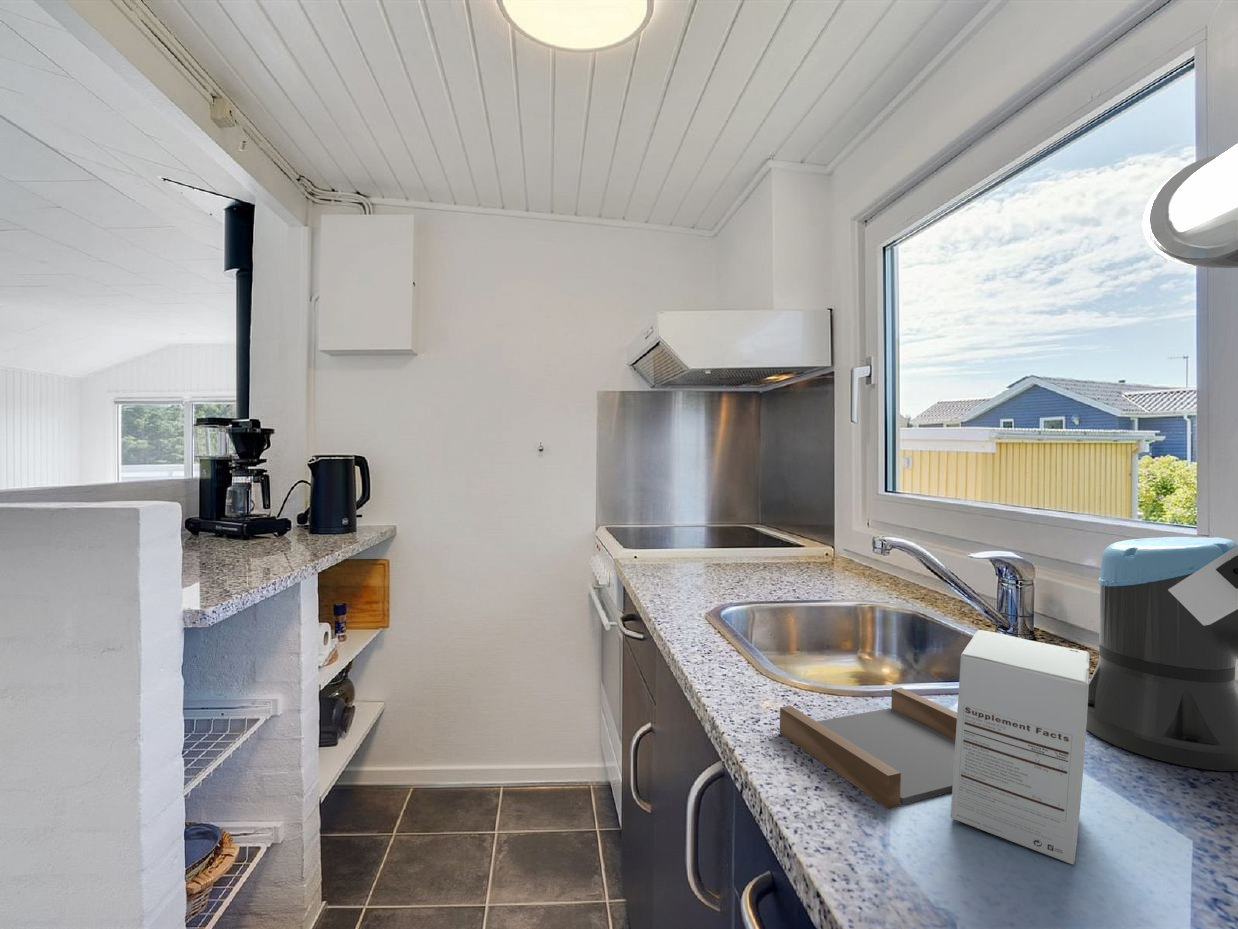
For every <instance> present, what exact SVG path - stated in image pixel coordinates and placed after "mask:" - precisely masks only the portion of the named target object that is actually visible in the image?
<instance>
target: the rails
mask: <svg viewBox="0 0 1238 929" xmlns="http://www.w3.org/2000/svg"><path fill="white" fill-rule="evenodd" d="M890 704H891V706H890V707H891V709H893V710H895V711H897V712H899V713H901V714H903V715H905V716H907V717H909V718H911V719H913V720H915V721H917V722H919V723H921V724H923V725H925V726H927V727H929V728H931V729H933V730H935V731H937V732H939V733H941V734H943V735H945V736H947V737H949V738H951V739H953V740H956V725H957V711H954V710H952V709H950V708H949V707H947V706H946V707H945V706H943V705H941V704H939V703H937V702H935V701H932V700H930V699H927V698H925V697H923V696H920V695H918V694H916V693H914V692H912V691H909V690H907V689H906V688H903V687H896V688H891V703H890ZM817 721H818V720H815V719H813V718H812V717H810V716H808V715H807V714H806V713H804V712H802V711H800V710H798V709H797V708H795V707H793V706H792V705H786V706H781V707H779V734H780V735H782V736H783V737H784V738H786V739H788V740H789V741H790V742H792V743H793V744H794V745H795V746H797V747H799V748H800V749H802V750H803V751H805V752H806V753H808V754H809V755H810V756H811V757H813V758H815V759H816V760H818V762H820V763H821V764H823V765H824V766H826V767H828V768H829V769H830V770H832V771H833V772H834V773H836V774H837V775H839V776H840V777H842V778H843V779H845V780H846V781H848V782H849V783H850V784H852V785H853V786H855V787H856V788H857V789H859V790H860V791H862V792H863V793H864V794H866V795H867V796H869V797H870V798H872V799H873V800H875V801H876V802H877V803H879V804H880V805H882V806H884V808H886V809H892V808H895V807H899V806H901V804H900V790H901V773H900V772H899V771H897V770H895V769H894V768H892V767H890V766H889V765H887V764H885V763H884V762H882V761H881V760H879V759H877V758H876V757H874V756H872V755H871V754H869V753H867V752H866V751H864V750H862V749H861V748H859V747H858V746H856V745H854V744H853V743H851V742H849V741H848V740H846V739H844V738H843V737H841V736H840V735H838V734H836V733H835V732H833V731H831V730H830V729H828V728H826V727H825V726H823V725H822V724H820V723H818V722H817Z"/></svg>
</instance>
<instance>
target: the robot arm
mask: <svg viewBox="0 0 1238 929" xmlns="http://www.w3.org/2000/svg"><path fill="white" fill-rule="evenodd" d="M1142 230H1143V234H1144V236H1145V239H1146V241H1147V243H1148V244H1149V246H1150V247H1151V248H1152V249H1153V250H1154V251H1156V253H1158V254H1159V255H1161V256H1162V257H1164V258H1165V259H1167V260H1171V261H1174V262H1176V263H1179V264H1183V265H1189V266H1194V267H1201V268H1207V269H1208V268H1210V269H1235V268H1238V143H1237V144H1235V145H1234V146H1231V148H1229V149H1228V150H1226V151H1225V152H1222V153H1221V154H1216V155H1211V156H1207V157H1204V158H1202V159H1199V160H1197V161H1194V162H1192V163H1190V164H1189V165H1186V166H1185V167H1183V168H1181V169H1180V170H1179V171H1177V172H1176V173H1174V174H1173V175H1172V176H1170V177H1169V178H1167V180H1165V181H1164V182H1163V183H1162V184H1161V185H1160V186H1159V187H1158V189H1156V191H1155V192H1153V194H1152V196H1151V198H1150V199H1149V201H1148V203H1147V204H1146V207H1145V211H1144V213H1143V219H1142ZM1100 564H1101V565H1100V573H1099V577H1098V580H1097V581H1098V584H1099V585H1100V594H1099V595H1100V596H1099V599H1100V602H1099V609H1100V610H1099V637H1098V638H1099V639H1098V640H1099V642H1098V643H1099V644H1098V645H1099V649H1098V650H1099V651H1098V654H1099V655H1098V662H1097V665H1096V666H1095V669H1094V671H1093V673H1092V675H1091V677H1090V678H1089V688H1088V708H1087V724H1086V731H1088V732H1090V733H1091V734H1092V735H1094V736H1096V737H1097V738H1099V739H1101V740H1103V741H1105V742H1107V743H1110V744H1112V745H1113V746H1116V747H1119V748H1121V749H1124V750H1127V751H1129V752H1131V753H1135V754H1138V755H1141V756H1143V757H1148V758H1151V759H1155V760H1158V761H1161V762H1164V763H1165V762H1166V763H1169V764H1175V765H1180V766H1183V767H1184V766H1185V767H1188V768H1194V769H1195V768H1196V769H1201V770H1208V771H1221V772H1223V771H1224V772H1238V690H1237V687H1236V663H1237V660H1238V544H1237V542H1236V541H1234V540H1233V539H1229V538H1224V537H1209V536H1208V537H1207V536H1206V537H1203V536H1201V537H1197V536H1196V537H1193V536H1166V537H1165V536H1163V537H1147V538H1146V537H1143V538H1133V539H1125V540H1121V541H1116V542H1114V543H1111V544H1109V545H1108V546H1107V547H1106V548H1105V549H1104V550H1103V552H1102V556H1101V563H1100Z"/></svg>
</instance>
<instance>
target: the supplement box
mask: <svg viewBox="0 0 1238 929" xmlns="http://www.w3.org/2000/svg"><path fill="white" fill-rule="evenodd" d="M1090 656H1091V655H1090V652H1088V651H1086V650H1082V649H1081V650H1080V649H1078V648H1077V649H1076V648H1070V647H1065V646H1061V645H1054V644H1049V643H1044V642H1041V641H1035V640H1031V639H1026V638H1021V637H1017V636H1013V635H1009V634H1004V633H1001V632H994V631H991V630H983V629H977V630H976V632H975V633H974V635H973V636H972V638H971V639H970V641H969V642H968V644H967V645H966V647H965V648H964V650H963V651H962V652H961V654H960V665H959V680H958V682H959V683H958V697H957V708H956V709H957V711H956V712H957V725H956V740H955V755H954V771H953V788H952V792H951V806H950V808H951V809H950V818H952V819H953V820H955V821H958V822H960V823H964V824H966V825H968V826H970V827H973V828H976V829H978V830H981V831H983V832H986V833H989V834H992V835H994V836H997V837H1000V838H1002V839H1005V840H1007V841H1009V842H1012V843H1013V844H1014V843H1015V844H1017V845H1020V846H1023V847H1025V848H1028V849H1030V850H1033V851H1036V852H1038V853H1041V854H1043V855H1047V856H1049V857H1052V858H1054V859H1057V860H1059V861H1062V862H1065V863H1066V864H1067V863H1068V864H1070V865H1075V861H1076V852H1077V842H1078V835H1079V834H1078V832H1079V822H1080V813H1081V802H1082V801H1081V800H1082V789H1083V776H1084V761H1085V750H1086V749H1085V748H1086V736H1087V735H1086V734H1087V729H1086V724H1087V708H1088V688H1089V682H1090Z"/></svg>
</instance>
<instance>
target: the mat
mask: <svg viewBox="0 0 1238 929" xmlns="http://www.w3.org/2000/svg"><path fill="white" fill-rule="evenodd" d="M816 721H817V722H818V723H820V724H822V725H823V726H825V727H826V728H828V729H830V730H831V731H833V732H835V733H836V734H838V735H840V736H841V737H843V738H844V739H846V740H848V741H849V742H851V743H853V744H854V745H856V746H858V747H859V748H861V749H862V750H864V751H866V752H867V753H869V754H871V755H872V756H874V757H876V758H877V759H879V760H881V761H882V762H884V763H885V764H887V765H889V766H890V767H892V768H894V769H895V770H897V771H899V772H900V773H901V790H900V805H902V806H903V805H908V804H911V803H914V802H918V801H922V800H926V799H930V798H934V797H937V796H942V795H945V794H948V793H949V794H950V793H952V788H953V771H954V755H955V740H953V739H951V738H949V737H947V736H945V735H943V734H941V733H939V732H937V731H935V730H933V729H931V728H929V727H927V726H925V725H923V724H921V723H919V722H917V721H915V720H913V719H911V718H909V717H907V716H905V715H903V714H901V713H899V712H897V711H895V710H893V709H891V708H890V707H887V708H884V709H877V710H871V711H866V712H861V713H860V712H859V713H856V714H850V715H845V716H838V717H834V718H828V719H822V720H816Z"/></svg>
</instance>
